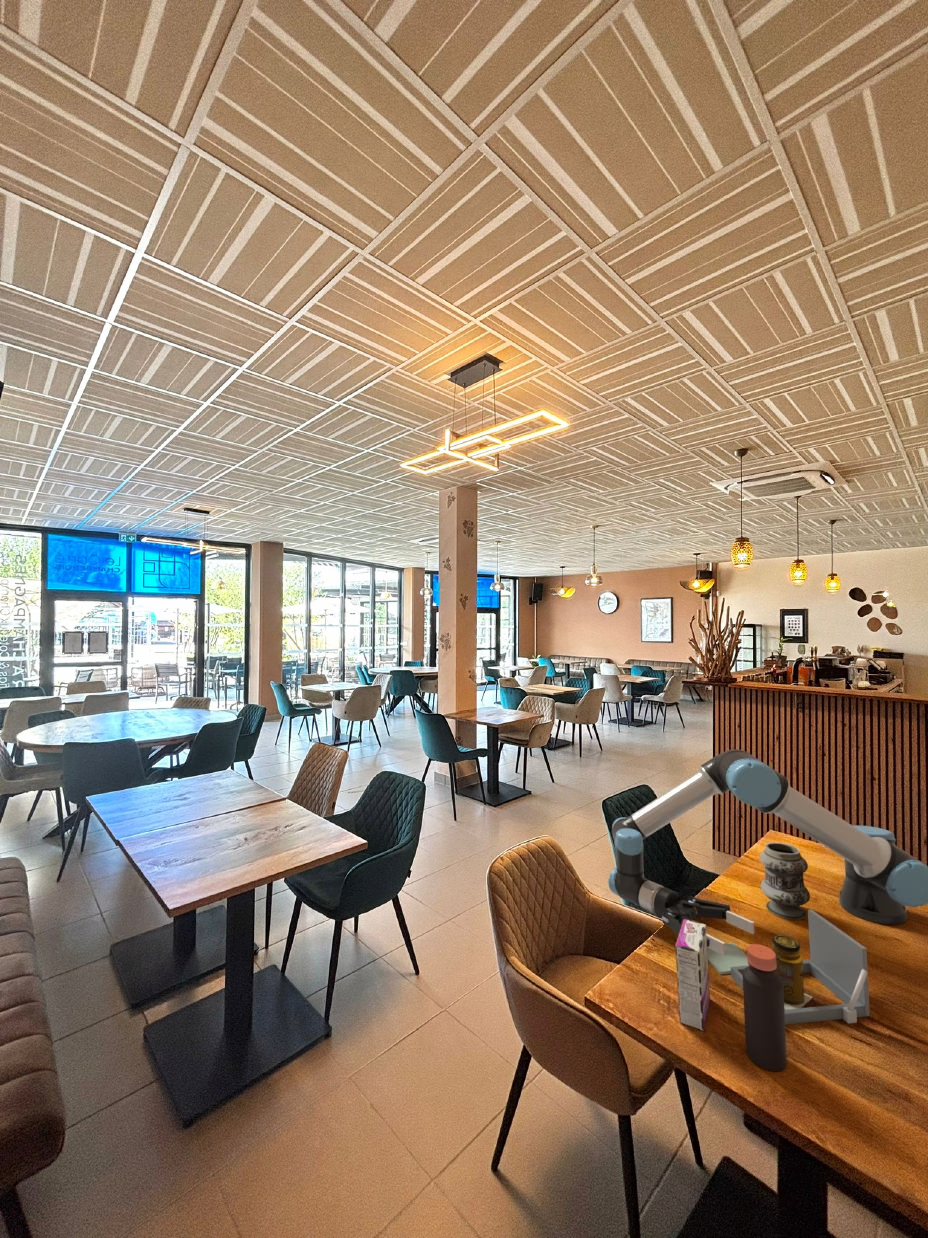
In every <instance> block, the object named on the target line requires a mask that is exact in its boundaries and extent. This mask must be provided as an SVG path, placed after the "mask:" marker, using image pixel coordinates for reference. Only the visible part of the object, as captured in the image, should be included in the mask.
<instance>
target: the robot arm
mask: <svg viewBox="0 0 928 1238" xmlns="http://www.w3.org/2000/svg"><path fill="white" fill-rule="evenodd" d="M729 791H730V792H731V793H732V795H734V796H735V798H736V799H737V800H738V801H740V802H742V803H743V804H745V805H748V806H751V807H753V808H754V809H756V810H758V811H760V812H761V813H763V814H765V815H766V814H774V815H776V816H777V817H779V818H780V819H782V820H784V821H785V822H787V823H789V824H790V825H791V826H793V827H795V828H796V829H798V830H799V831H801V832H802V833H804V834H806V835H807V836H808V837H810V838H812V839H813V840H815V841H816V842H817V843H819V844H821V845H823V846H824V847H826V848H827V849H829V850H830V851H832V852H834V854H836V855H838V856H839V857H841V858H842V859H844V870H845V871H844V872H845V874H844V875H845V876H844V880H843V882H842V883H843V884H842V886H841V887H842V888H841V890H840V891H839V895H838V898H839V899H838V901H839V904H840V906H841V907H842V909H844V910H845V911H847V912H848V913H850V914H852V915H853V916H856V917H858V918H860V919H863V920H866V921H870V922H873V923H879V924H883V925H885V924H886V925H901V924H904V923H905V922H907V920H908V912H907V907H909V908H917V907H923V906H926V905H927V904H928V865H927V864H926V863H924V862H922V861H921V860H918V858H915V857H914V856H913V855H911V854H909V853H908V852H906V851H905V850H903V849H902V848H901V847H899V846H897V845H896V840H897V839H896V838H895V834H894V833H893V832H892V831H890V830H887V829H885V828H880V827H875V826H869V825H868V826H867V825H852V824H850V823H849V822H847V821H846V820H844V819H843V818H841V817H840V816H838V815H836V814H835V813H834V812H831V811H830V810H828V809H826V808H825V807H823V806H821V805H820V804H819V803H817V802H816V801H814V800H812V799H811V798H809V797H807V796H806V795H804V794H803V793H801V792H799V791H798V790H797V789H795V788H793V787H791V784H790V780H789V778H787V777H786V776H785V775H783V774H781V773H780V772H778V771H776V770H775V769H774V768H772V767H771V766H770V765H768V764H766V763H764V762H762V761H761V760H760V759H758V758H757V757H755V756H754V755H753V754H751V753H749V752H748V751H745V750H742V749H728V750H726V751H723V752H721V753H719V754H717V755H716V756H713V757H712V758H710V759H708V760H707V761H706V762H704V763H703V764H701V765H700V766H699V770H698V771H697V772H696V773H694V774H692V775H691V776H690V777H688V778H687V779H685V780H683V781H682V782H681V783H678V784H677V785H676V786H674V787H673V788H671V789H669V790H668V791H667V792H665V793H663V794H662V795H660V796H659V797H657V798H655V799H654V800H652V801H651V802H649V803H648V804H646V805H644V806H642V808H640V809H639V810H637V811H635V812H634V813H632V814H631V815H629V816H627V817H623V816H622V817H619V818H616V819H615V820H614V821H613V823H612V827H611V835H612V838H613V844H614V849H615V858H616V867H614V868H613V869H612V870H611V871H610V872H609V878H608V881H607V884H608V888H609V890H610V891H611V893H613V894H615V895H616V896H618V897H619V898H621V899H623V900H625V901H627V902H630V903H632V904H634V905H636V906H638V907H639V908H642V909H644V910H645V911H647V912H650V913H651V914H654V915H656V916H657V917H660V919H661V920H662V921H661V922H662V923H663V924H664V925H666V927H669V929H671V931H672V932H673V933H675V935H676V936H677V937H678V936H679V933H680V930H681V927H682V923H683V920H684V919H685V920H690V921H693V920H696V919H697V920H700V919H702V918H704V919H713V920H714V919H715V920H724V921H726V923H728V924H729V925H731V926H735V928H737V929H738V928H739V929H741V930H743V931H745V932H747V933H749V934H751V935H754V934H755V922H754V921H753V920H750V919H748V918H746V917H743V916H741V915H739V914H736V913H734V912H731V906H730V905H729V904H724V903H719V902H715V901H710V900H705V899H700V898H697V897H695V896H691V895H690V896H688V898H689V900H683V899H682V898H681V897H680V895H679V893H678V892H676V891H675V890H672V889H669V887H664V886H663V885H661V884H659V883H656V882H654V881H651V880H650V879H647V878H646V877H645V874H644V873H645V870H644V841H643V840H645V839H646V838H648V837H649V836H650V835H652V834H654V833H655V832H657V831H659V830H661V829H662V828H664V827H665V826H666V825H668V824H670V823H671V822H672V821H675V820H676V819H678V818H679V817H681V816H683V815H684V814H686V813H688V812H689V811H690V810H693V809H694V808H695V807H697V806H698V805H700V804H702V803H703V802H705V801H706V800H708V799H710V798H711V797H714V796H715V795H717V794H719V795H723V794H725V793H726V792H729ZM706 937H707V947H708V948H710V949H712V950H713V951H715V952H717V953H719V954H721V955H723V956H724V955H725V944H726V942H724V941H722V940H720V939H719V938H716V937H714V936H713V935H710V934H709V933H706Z"/></svg>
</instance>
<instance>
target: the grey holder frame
mask: <svg viewBox="0 0 928 1238" xmlns="http://www.w3.org/2000/svg"><path fill="white" fill-rule="evenodd" d="M807 917H808V921H807V923H808V939H809V957H810V959H802V961H803V974H807V973H809V974H811V975H812V976H813V977H814V978H816V979H817V980H818V981H819V982H820V983H821V984H822V985H824V987H826V988H827V989H828V990H829V991H830V992H831V993H833V994H834V995H835V996H836V997H837V998H838V999H839V1000H841V1001H842V1003H843V1004H831V1005H821V1006H811V1007H810V1006H809V1007H801V1008H799V1009H789V1010H786V1009H784V1012H785V1026H787V1025H793V1024H795V1025H796V1024H804V1023H814V1022H823V1021H835V1020H843V1021H844V1022H846V1023H847V1024H857V1023H858V1018H862V1017H870V1016H871V1011H870V1009H871V1008H870V995H869V992H870V991H869V971H868V953H867V950H868V949H867V947H865V946H864V945H862V944H861V943H859V942H858V941H856V939H854V938H852V937H851V936H850V935H848V934H847V933H845V931H843V930H841V929H840V928H838V926H836V925H834V924H833V923H831V922H830V921H828V920H827V919H826V918H825V917H823V916H821V915H820V914H819V913H817V912H816V911H814V910H813V909H807ZM748 966H749V965H748ZM748 966H737V967H731V974H730V977H731V978H732V979H733V981H734V982H735V983H736V984H737V985H738V986H739V987H740V988H741V990H743V975H742V973H743V971H744V969H745V968H746V967H748Z"/></svg>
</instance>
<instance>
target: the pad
mask: <svg viewBox="0 0 928 1238" xmlns="http://www.w3.org/2000/svg"><path fill="white" fill-rule="evenodd" d="M707 955H708V963H710V964H711V965H712V967H713V968H714V969H715V970H716V971H717V972H718V973H719V975H729V974H730V975H731V967H737V966H748V965H749V964H748V961H747V953H745V952H744V951H743V950H742V949H741V948H740V947H739V946H738V945H737V943H735V942H729V943H727V942H725V955H724V956H723V955H721V954H719V953H717V952H715V951H713V950H712V949H710V948H708V947H707Z"/></svg>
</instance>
